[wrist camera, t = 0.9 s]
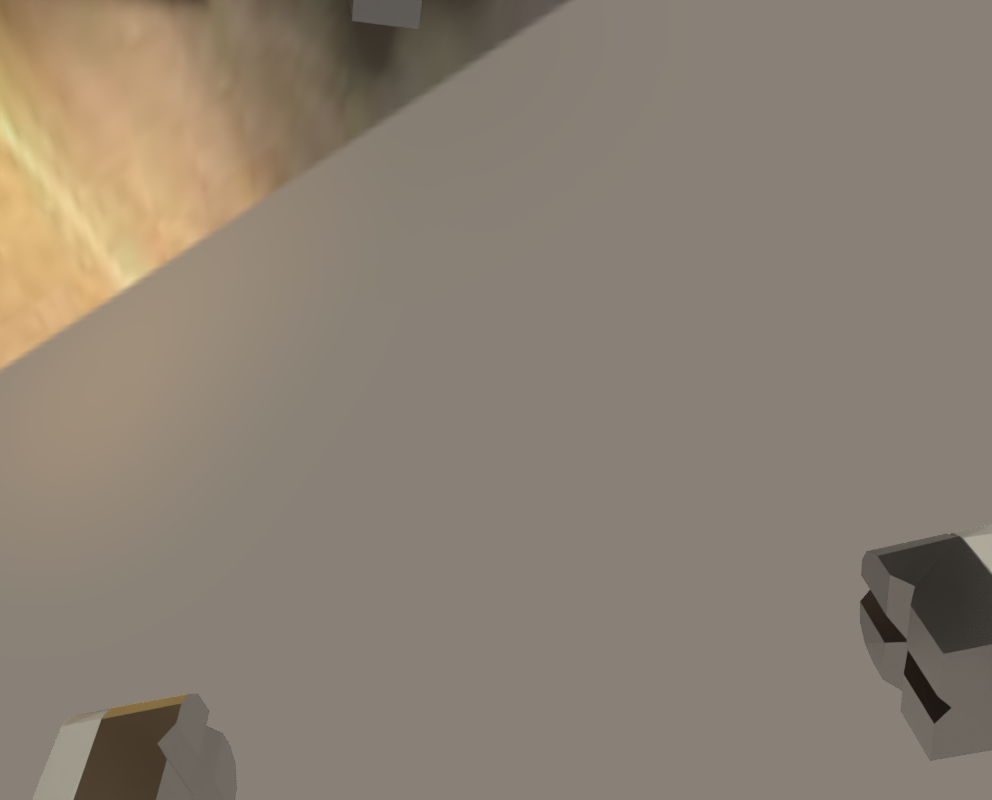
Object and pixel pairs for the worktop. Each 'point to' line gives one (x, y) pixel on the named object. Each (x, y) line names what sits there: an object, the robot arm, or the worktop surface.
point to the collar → (387, 12)
